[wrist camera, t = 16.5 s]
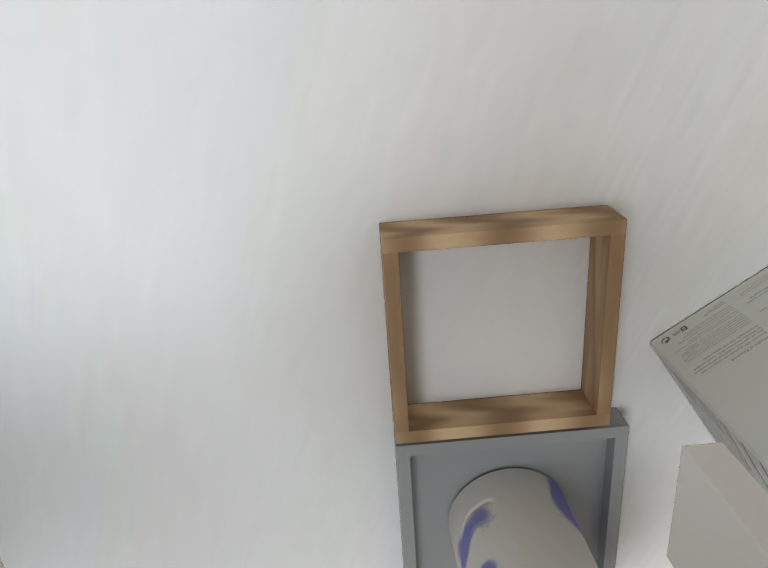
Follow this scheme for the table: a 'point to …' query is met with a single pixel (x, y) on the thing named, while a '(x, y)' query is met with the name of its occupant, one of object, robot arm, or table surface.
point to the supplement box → (727, 370)
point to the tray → (520, 450)
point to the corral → (519, 409)
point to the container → (516, 524)
